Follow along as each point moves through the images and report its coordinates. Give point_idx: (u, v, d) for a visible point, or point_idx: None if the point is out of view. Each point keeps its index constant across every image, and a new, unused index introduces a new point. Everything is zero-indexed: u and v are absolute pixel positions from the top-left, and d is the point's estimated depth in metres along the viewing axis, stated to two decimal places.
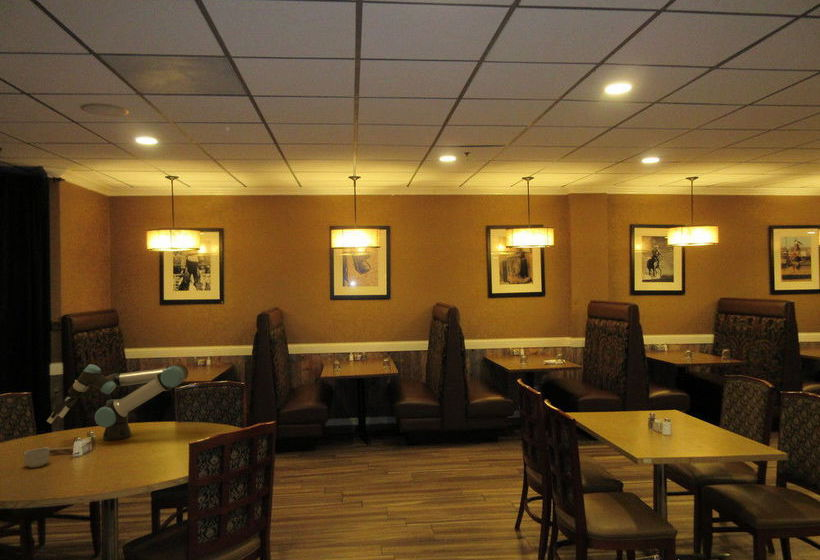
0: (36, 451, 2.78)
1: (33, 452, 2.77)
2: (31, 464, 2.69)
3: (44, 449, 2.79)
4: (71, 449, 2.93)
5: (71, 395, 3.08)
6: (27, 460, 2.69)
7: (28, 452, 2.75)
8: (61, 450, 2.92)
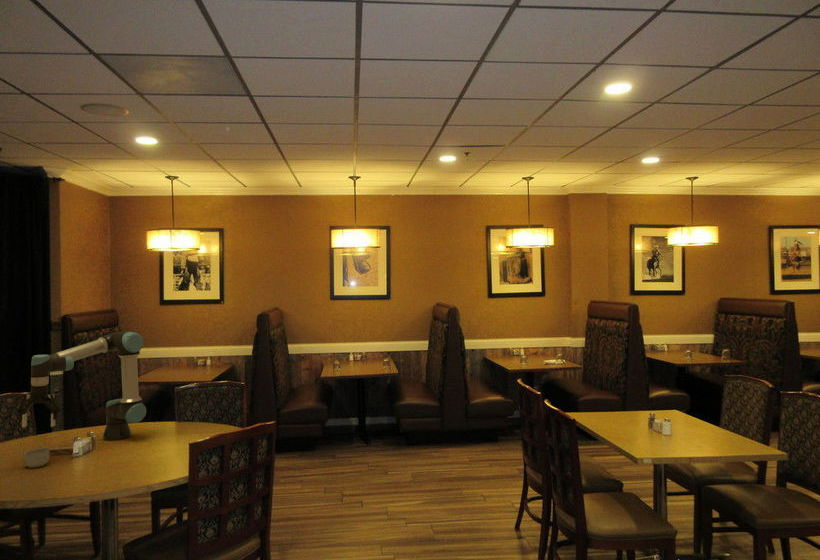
0: (36, 451, 2.78)
1: (33, 452, 2.77)
2: (31, 464, 2.69)
3: (44, 449, 2.79)
4: (71, 449, 2.93)
5: (47, 392, 2.78)
6: (27, 460, 2.69)
7: (28, 452, 2.75)
8: (61, 450, 2.92)
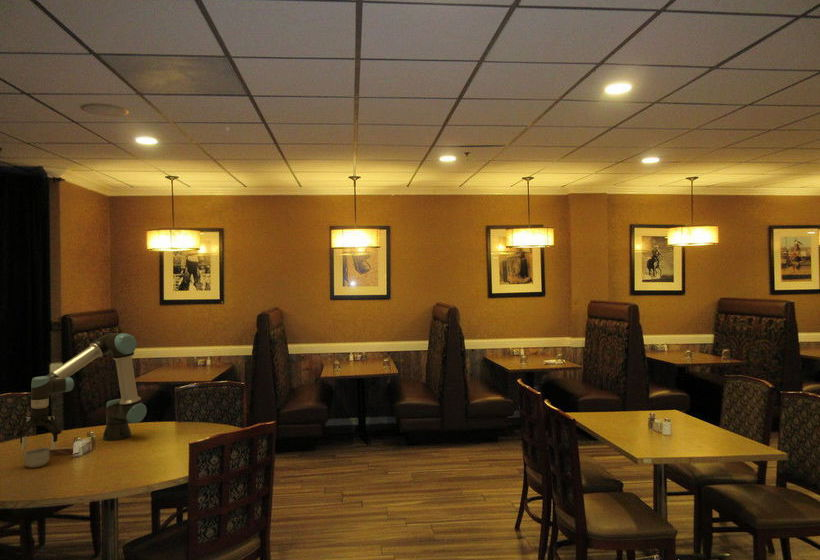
0: (36, 451, 2.78)
1: (33, 452, 2.77)
2: (31, 464, 2.69)
3: (44, 449, 2.79)
4: (71, 449, 2.93)
5: (47, 414, 2.77)
6: (27, 460, 2.69)
7: (28, 452, 2.75)
8: (61, 450, 2.92)
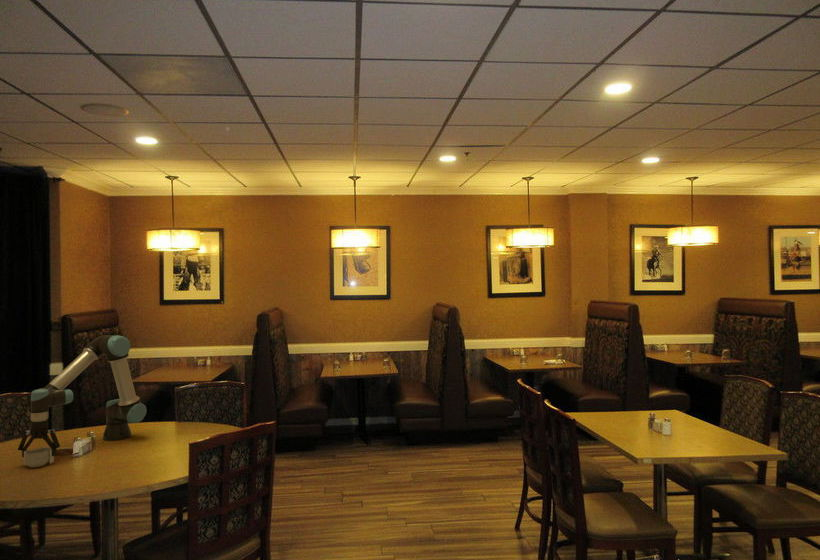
0: (36, 451, 2.78)
1: (33, 452, 2.77)
2: (31, 464, 2.69)
3: (44, 449, 2.79)
4: (71, 449, 2.93)
5: (47, 427, 2.77)
6: (27, 460, 2.69)
7: (28, 452, 2.75)
8: (61, 450, 2.92)
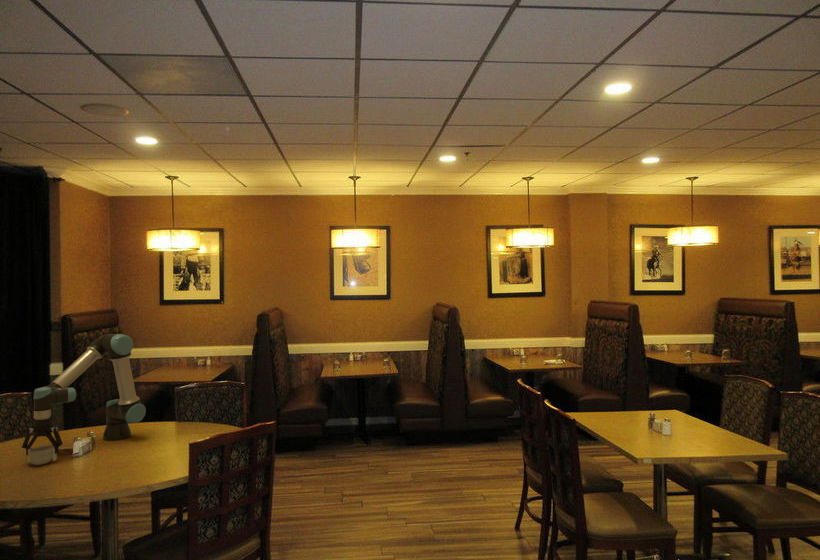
0: (40, 449, 2.81)
1: (37, 450, 2.80)
2: (36, 461, 2.72)
3: (48, 447, 2.82)
4: (71, 449, 2.93)
5: None
6: (32, 458, 2.72)
7: (32, 450, 2.78)
8: (61, 450, 2.92)
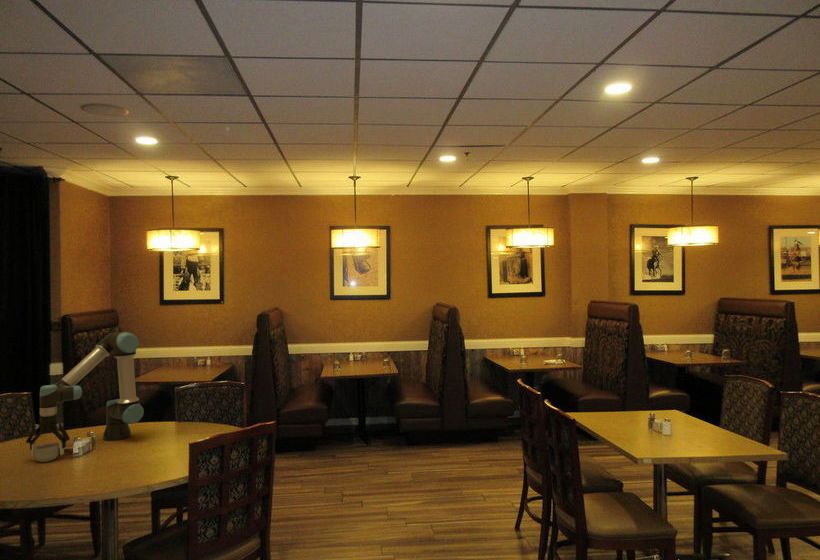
0: (46, 446, 2.87)
1: (43, 447, 2.86)
2: (41, 459, 2.78)
3: (53, 444, 2.88)
4: (71, 449, 2.93)
5: (56, 421, 2.85)
6: (37, 455, 2.78)
7: (38, 447, 2.84)
8: None
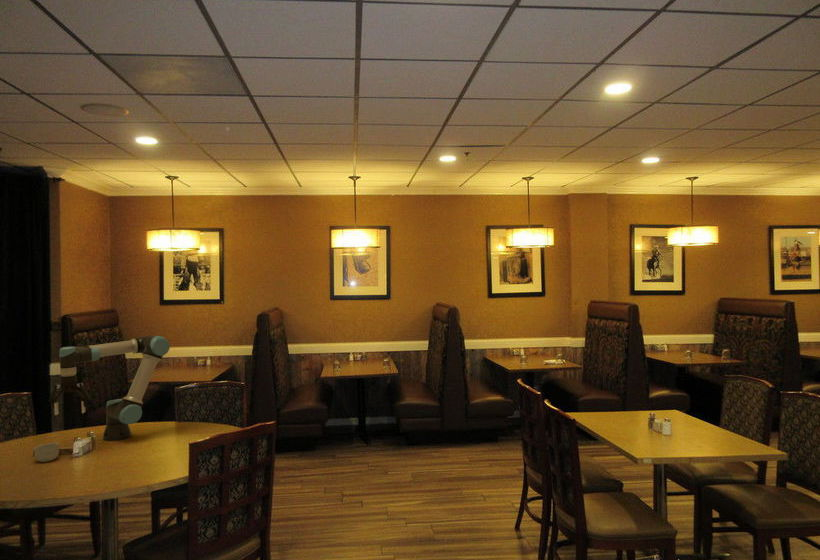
0: (46, 446, 2.87)
1: (43, 447, 2.86)
2: (41, 459, 2.78)
3: (53, 444, 2.88)
4: (71, 449, 2.93)
5: (76, 381, 2.96)
6: (37, 455, 2.78)
7: (38, 447, 2.84)
8: (61, 450, 2.92)
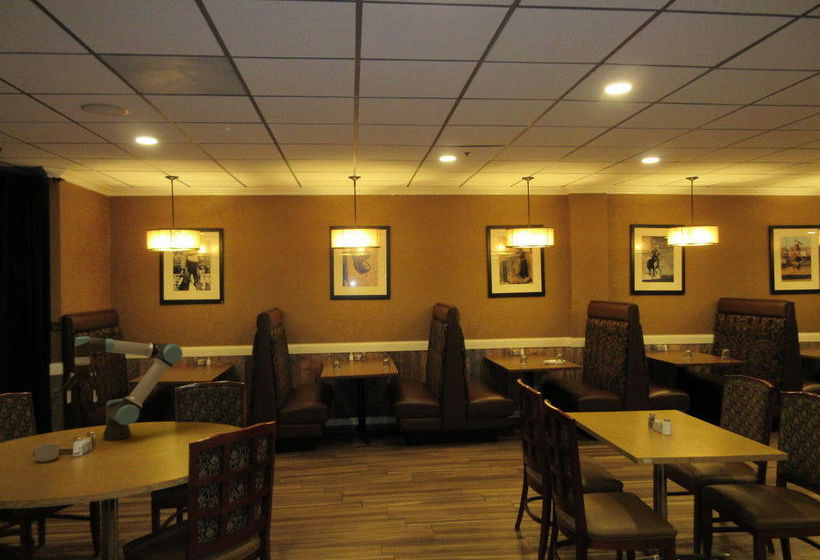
0: (46, 446, 2.87)
1: (43, 447, 2.86)
2: (41, 459, 2.78)
3: (53, 444, 2.88)
4: (71, 449, 2.93)
5: (89, 370, 3.03)
6: (37, 455, 2.78)
7: (38, 447, 2.84)
8: (61, 450, 2.92)
